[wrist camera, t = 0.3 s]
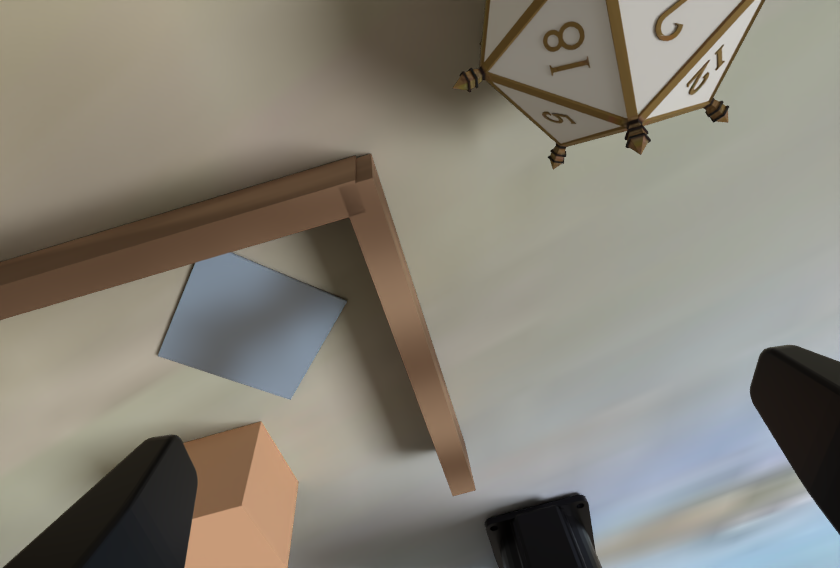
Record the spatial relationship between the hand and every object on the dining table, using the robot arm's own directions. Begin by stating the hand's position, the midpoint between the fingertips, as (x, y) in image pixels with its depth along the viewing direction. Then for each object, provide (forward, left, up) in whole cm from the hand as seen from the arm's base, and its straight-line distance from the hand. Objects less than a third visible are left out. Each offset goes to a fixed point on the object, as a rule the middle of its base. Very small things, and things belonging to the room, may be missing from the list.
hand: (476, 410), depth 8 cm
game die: (+4, -7, -14) cm, 16 cm away
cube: (-13, +13, -14) cm, 24 cm away
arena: (-8, +10, -14) cm, 19 cm away
